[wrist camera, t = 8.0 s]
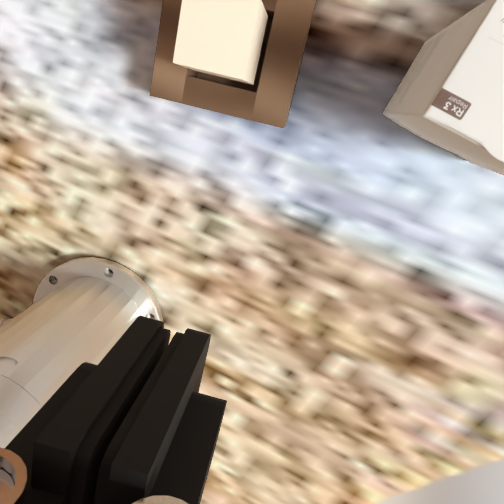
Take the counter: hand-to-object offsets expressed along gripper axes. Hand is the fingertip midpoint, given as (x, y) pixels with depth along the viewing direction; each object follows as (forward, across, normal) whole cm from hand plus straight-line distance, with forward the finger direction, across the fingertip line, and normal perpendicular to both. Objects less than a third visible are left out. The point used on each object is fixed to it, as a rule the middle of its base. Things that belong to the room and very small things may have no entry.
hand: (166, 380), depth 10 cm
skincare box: (+27, -11, -9) cm, 31 cm away
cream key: (+24, +5, -10) cm, 26 cm away
